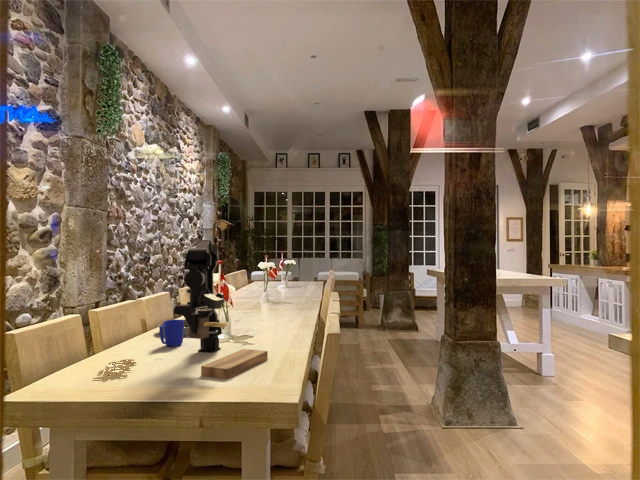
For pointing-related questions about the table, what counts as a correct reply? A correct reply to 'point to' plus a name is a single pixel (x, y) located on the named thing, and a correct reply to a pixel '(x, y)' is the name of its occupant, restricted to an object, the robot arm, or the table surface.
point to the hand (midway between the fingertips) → (199, 332)
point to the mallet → (204, 328)
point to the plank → (234, 363)
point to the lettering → (114, 374)
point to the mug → (172, 332)
